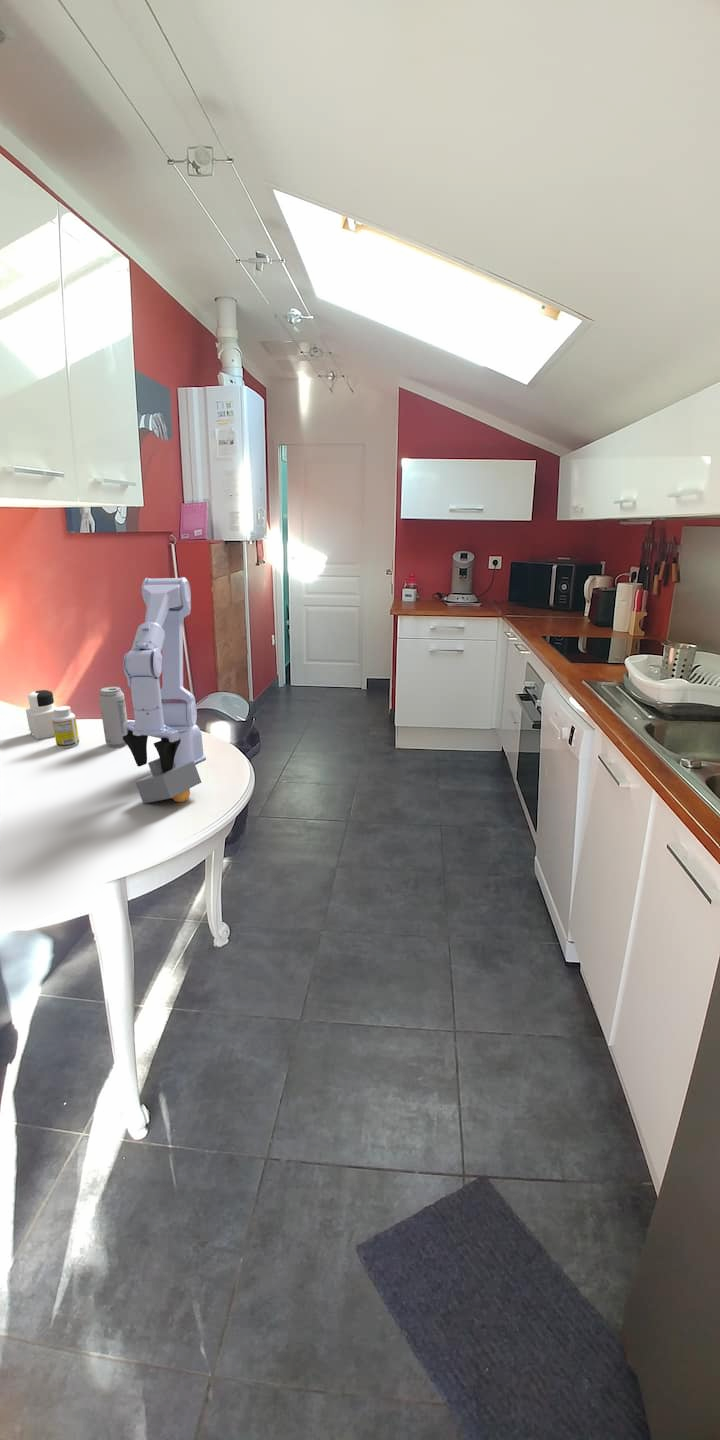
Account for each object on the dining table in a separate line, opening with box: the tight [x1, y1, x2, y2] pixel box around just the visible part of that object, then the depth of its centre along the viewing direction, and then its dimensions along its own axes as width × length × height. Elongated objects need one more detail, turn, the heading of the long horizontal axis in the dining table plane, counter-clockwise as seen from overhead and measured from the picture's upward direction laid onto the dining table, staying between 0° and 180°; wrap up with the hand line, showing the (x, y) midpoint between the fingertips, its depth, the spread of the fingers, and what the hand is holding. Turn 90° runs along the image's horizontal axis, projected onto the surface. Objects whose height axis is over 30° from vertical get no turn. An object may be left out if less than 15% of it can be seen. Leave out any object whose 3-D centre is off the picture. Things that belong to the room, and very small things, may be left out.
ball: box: [171, 788, 191, 803], centre depth 143 cm, size 4×4×4 cm
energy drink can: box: [98, 685, 129, 748], centre depth 174 cm, size 6×6×15 cm
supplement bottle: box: [52, 705, 80, 749], centre depth 175 cm, size 6×6×10 cm
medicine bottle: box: [25, 689, 57, 740], centre depth 183 cm, size 7×7×12 cm
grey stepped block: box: [134, 757, 202, 804], centre depth 143 cm, size 9×9×8 cm
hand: (154, 768), depth 144 cm, fingers open, 7 cm apart
